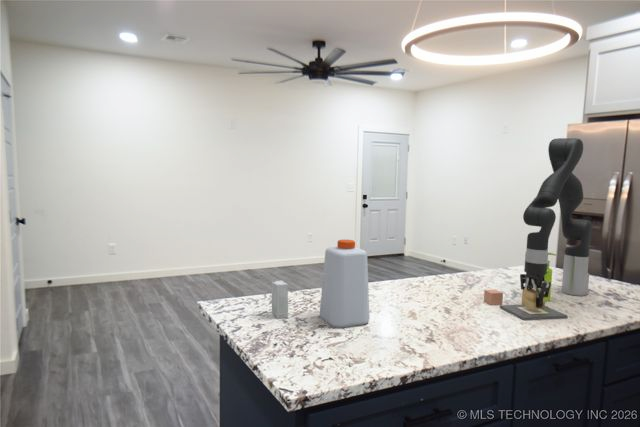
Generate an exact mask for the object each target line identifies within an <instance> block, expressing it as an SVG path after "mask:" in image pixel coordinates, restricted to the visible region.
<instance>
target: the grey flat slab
mask: <svg viewBox="0 0 640 427" xmlns="http://www.w3.org/2000/svg"><path fill="white" fill-rule="evenodd" d="M499 308H500V309H501V310H503V311H505V312H507V313H508V314H510V313H511V314H510V315H512V314H513V316H514V315H515V316H514V317H516V316H517V318H519V319H521V320H522V321H538V320H540V321H541V320H557V319H558V320H559V319H560V320H561V319H568V315H567V314H565V313H562V312H560V311H558V310H556V309H553V308H551V307H550V306H546V305H545V309H530V308H528V307H525V306H523V305H522V304H502V305H499Z"/></svg>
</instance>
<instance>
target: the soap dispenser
mask: <svg viewBox="0 0 640 427" xmlns="http://www.w3.org/2000/svg"><path fill="white" fill-rule="evenodd" d="M548 256H557V254H556V253H553V252H548ZM552 278H553V269H552V268H550V260H548V263H547V274H545V276H544V279H545V281H546V282H550V283H551V284H552V281H553V280H552ZM537 289H540V288H537ZM544 293H545V292H544ZM551 293H552V285H551V286H550V290H549V295H548V297H545V302H550V301H551V295H552V294H551Z"/></svg>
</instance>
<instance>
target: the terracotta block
mask: <svg viewBox="0 0 640 427" xmlns="http://www.w3.org/2000/svg"><path fill="white" fill-rule="evenodd" d="M483 293H484V294H483V302H484V303H485V304H487V305H489V306H500V305H503V297H504V293H503V292H502V291H499V290H498V289H484V292H483Z"/></svg>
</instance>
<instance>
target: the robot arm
mask: <svg viewBox="0 0 640 427" xmlns="http://www.w3.org/2000/svg"><path fill="white" fill-rule="evenodd" d="M547 151H548V157H549V161H550V165H551V169H552V171H553V173H551V174H550V175H549V176H548V177H546V178H545V179H544V181H543V182H542V184H541V185H540V188H539V190H538V192H537V195H536V197H535V198H533V200H531V202H530V203H529V205H528V206H527V207H526V208H525V210H524V212H523V216H522V218H523V222H524V223H525V224H526V225H528V226H530V227H531V226H533V227H539V228H540V229H539V231H535V232H530V233H528V234H527V237H526V248H525V249H526V250H525V255H524V256H525V257H524V269H523V270H524V272H525V273H522V274H521V273H520V274H519V279H520V281H519V282H520V290H522V291H523V289H534V291H535V292H536V307H537V308H541V307H542V305H543V298H544V297H548V295H549V290H550V286H551V287H552V282H551V283H550V282H546V281H545V279H544V276H545V274H547V263H548V261H549V255H548V253H549V251H548V249H549V239H550V235H551V233H552V230H553V228H554V225H555V223H556V218H557V216H556V212H555V210H553V208H551V207H554V206H556V204H557V202H558V204H559V210H560V218H561V229H562V230H561V232H562V235H563V238H565V239H567V240H573V241H580V242H579V244H577V245H572V246H568V247H566V248H564V255H563V257H564V258H563V268H562V280H561V283H562V284H561V292H562V293H563V294H566V295H571V296H578V297H579V296H581V297H583V296H586V295H588V293H589V282H590V272H588V271H589V270H588V269H589V258H590V257H589V256H590V248H591V240H592V234H593V223H592V221H591V220H588V219H578V218H577V219H576V218H572V215H573V213H574V211H575V210H576V209H577V208H578V207H579V206H580V204H581V203H582V202H583V200H584V189H583V184H582V182H581V181H580V179H579V178H578V177H577V176H576V175H575V174H574V173H573V172H574V170H575V168H576V166H577V165H578V163H579V162H580V160H581V158H582V156H583V152H584V143H583V141H582V139H580V138H575V137H572V138H569V137H568V138H565V137H563V138H562V137H561V138H554V139H551V141H550V142H549V143H548V150H547ZM537 288H540V289H537ZM539 291H540V294H539ZM544 292H545V294H544Z"/></svg>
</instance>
